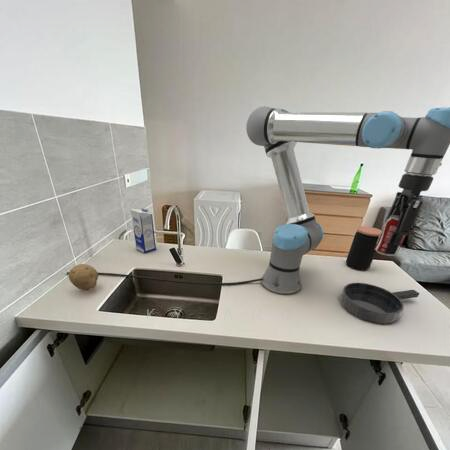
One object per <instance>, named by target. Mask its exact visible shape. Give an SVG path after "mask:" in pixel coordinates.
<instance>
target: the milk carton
mask: <svg viewBox="0 0 450 450" xmlns="http://www.w3.org/2000/svg"><path fill="white" fill-rule="evenodd" d="M130 215H131V221H132V228H133V234H134V242H135V248H136V250H137V251H139V252H141V253H143V254H147V253H150V252H153V251H156V250H157V246H156V236H155V227H154V216H153V213H151V212H149V209H147V208H141V209H136V208H130Z"/></svg>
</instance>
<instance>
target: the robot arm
mask: <svg viewBox="0 0 450 450" xmlns="http://www.w3.org/2000/svg"><path fill="white" fill-rule="evenodd" d="M245 130H246V135H247V137H248V139H249V140H250V142H251V143H253V144H254V145H256V146H259V147H263V148H264V151H265V155H266V157H267V158H270V159H271V162H272V166H273V169H274V172H275V176H276V180H277V184H278V188H279V191H280V195H281V199H282V202H283V203H282V204H283V207H284V210H285V214H286V217H287V220H286V222H285V224H281V225H280V226H278V227H277V228H276V229H275V230H274V234H273V236H272V244H271V252H270V256H269V257H270V258H269V263H268V266H267V268H266V269H265V271H264V273H263V275H262V277H261V278H255V279H250V280H244V281H234V282H207V281H206V282H205V281H203V282H202V281H187V280H178V279H168V278H158V277H151V276H142V275H134V274H125V273H112V272H97V273H98V276H100V275H101V276H114V277H115V276H116V277H125V278H126V277H127V278H135V279H144V280H150V281H151V280H153V281H160V282H168V283H169V282H170V283H177V284H179V283H180V284H191V285H209V286H210V285H211V286H232V285H233V286H234V285H242V284H250V283H254V282H261V284H262V286H263V287H264V288H265V289H266V290H268V291H270V292H272V293H275V294H279V295H292V294H295V293H297V292H299V290H300V288H301V283H302V282H301V273H300V268H301V265H302V260H303V257H304V256H305V255H307V254H308V253H310V252H311V251H313V250H315V249H316V248H317V247H318V246H319V245H320V244H321V242H322V241H323V238H324V229H323V227H322V225H321V224H320V222H319V223H318V222H317V220H316V216H315V214H313V213H312V212H310V209H309V204H308V201H307V197H306V192H305V189H304V185H303V181H302V177H301V173H300V168H299V165H298V160H297V157H296V152H295V148H296V146H297V143H302V144H303V143H305V144H320V145H332V146H333V145H335V146H348V147H349V146H350V147H359V148H370V149H398V150H411V154H410V156H409V158H408V160H407V163H406V165H405V168H404V170H403V171H404V172H405V173H403V174H402V176H401V178H400V180H399V183H398V188H400V189H402V191H397V192H396V194H395V197H394V200H393V203H392V205H391V207H390V209H389V212H388V213H387V216H386V218H385V220H384V222H385V221H386V220H387V219H389V218H390V216H391V215H398V216H400V217H399V220H398V224H397V227H396V231H395V232H392V237H391V239H390V241H389V244H388V246H387V248H386V251H385V253H388V254H395V253H396V250H397V248H398V246H399V244H400V242H401V240H402V237H403V235H406V236H409V234H410V232H411V230H412V227H413V225H414V222H415V219H416V218H417V214H418V212H419V210H420V208H421V206H422V205H423V202H424V201H423V200H420V195H421V192H427V191H429V189H430V188H431V185H432V183H433V181H434V176H435V175H436V174H437V172H438V170H439V168H440V167H441V166H442V164H443V163H442V161H443V159H444V157H445V155H446V153H447V151H448V150H449V147H450V107H446V106H445V107H444V106H443V107H442V106H441V107H433V108H430V109H429V110H428V111H427V114H425V115H424V116H421V117H403V116H400V115H398V113H396V112H394V111H391V110H390V111H389V110H381V111H379V112H290V111H288V110H286V109H282V108H275V107H270V106H265V105H264V106H259V107H257V108H255V109H254V110H252V112H251V113H250V114H249V116H248V118H247V121H246V129H245ZM69 272H70V271H67V272H66V275H69Z"/></svg>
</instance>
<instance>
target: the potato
mask: <svg viewBox="0 0 450 450" xmlns="http://www.w3.org/2000/svg"><path fill="white" fill-rule="evenodd" d="M68 272H69V274H68V280H69V282H70V283H71V284H72V285H73V286H74V287H75V288H76V289H78V290H81V291H83V292H84V291H85V292H86V291H90V290H92V289H94V288H95V287H96V286H97V284H98V279H99V275H98V273H99V272H98V270H96V269H95V268H94V267H93V266H92V265H89V264H86V263H79V264H75V265H74V266H73V267H72V268H71V269H70V270H69V271H68Z"/></svg>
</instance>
